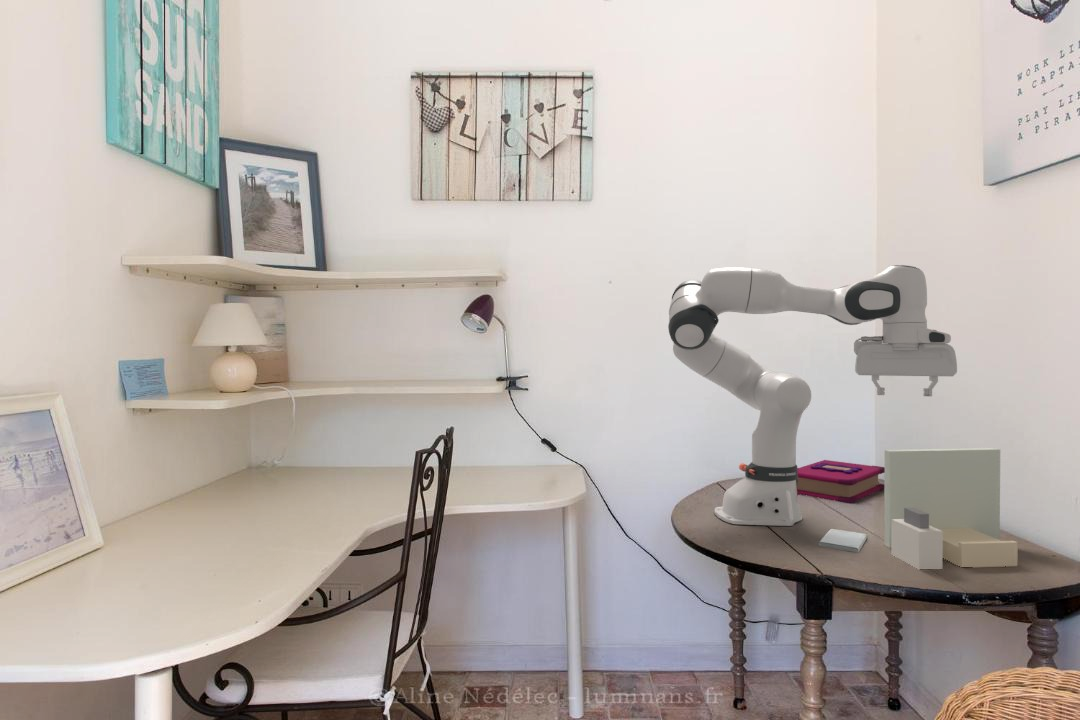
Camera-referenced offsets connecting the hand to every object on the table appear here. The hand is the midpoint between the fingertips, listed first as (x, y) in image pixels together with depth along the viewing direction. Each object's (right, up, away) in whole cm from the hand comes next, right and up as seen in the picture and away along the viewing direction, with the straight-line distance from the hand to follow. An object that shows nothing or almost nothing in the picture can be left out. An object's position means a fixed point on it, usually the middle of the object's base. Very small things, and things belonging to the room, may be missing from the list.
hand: (903, 395), depth 142 cm
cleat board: (+8, -34, -8) cm, 36 cm away
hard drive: (-13, -35, +2) cm, 38 cm away
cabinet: (-4, -35, -12) cm, 37 cm away
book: (+9, -34, +53) cm, 63 cm away
